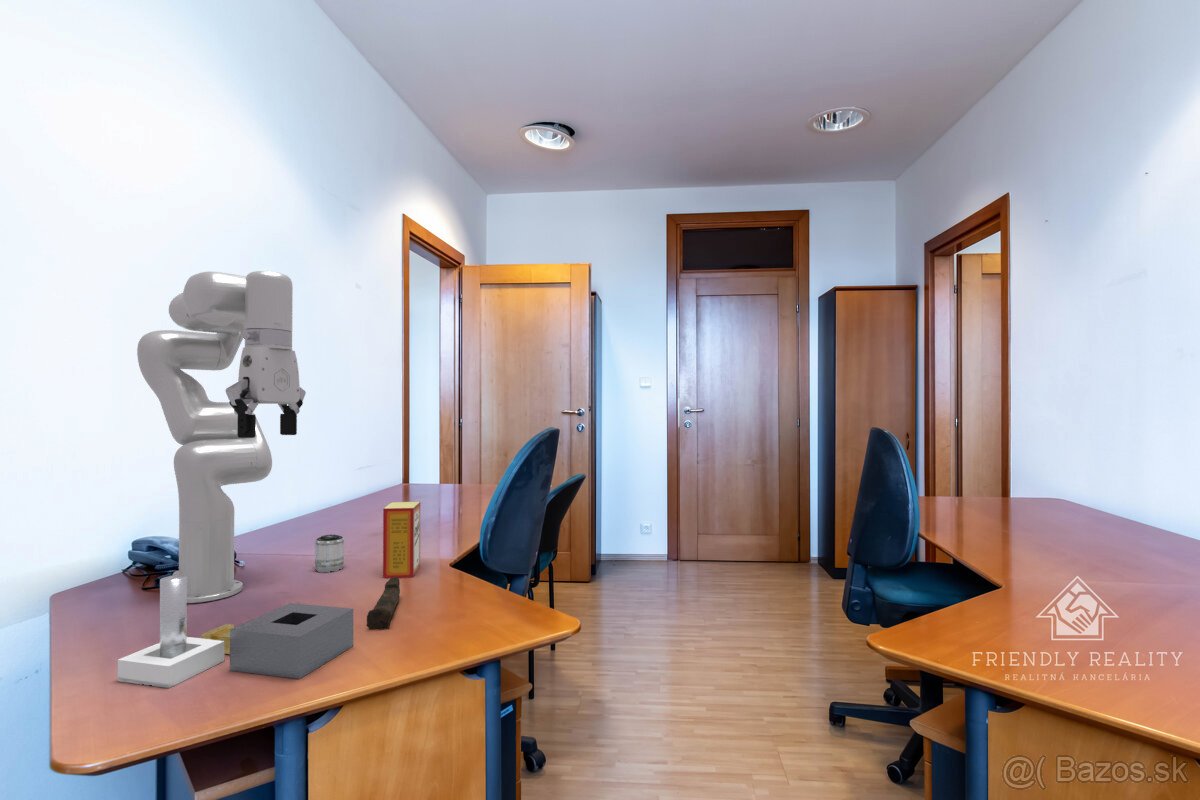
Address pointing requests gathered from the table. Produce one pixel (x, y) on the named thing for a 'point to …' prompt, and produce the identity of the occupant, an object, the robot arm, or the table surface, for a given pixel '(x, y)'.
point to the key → (220, 635)
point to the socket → (291, 640)
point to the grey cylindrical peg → (173, 616)
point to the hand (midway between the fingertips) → (268, 436)
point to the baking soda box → (401, 539)
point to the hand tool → (384, 606)
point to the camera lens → (329, 553)
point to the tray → (170, 663)
